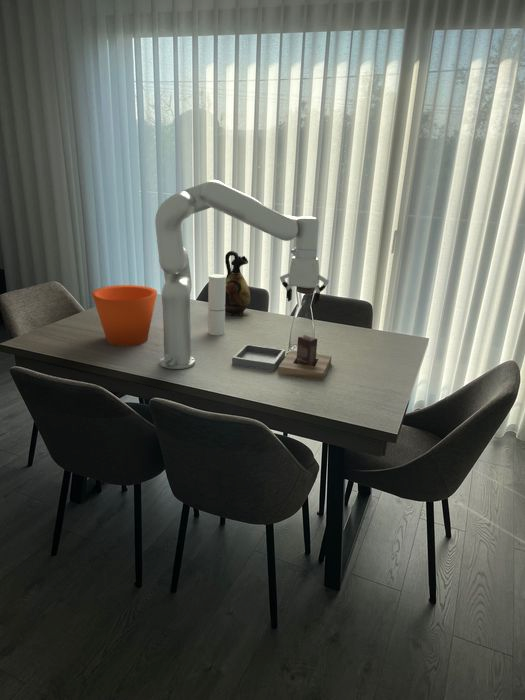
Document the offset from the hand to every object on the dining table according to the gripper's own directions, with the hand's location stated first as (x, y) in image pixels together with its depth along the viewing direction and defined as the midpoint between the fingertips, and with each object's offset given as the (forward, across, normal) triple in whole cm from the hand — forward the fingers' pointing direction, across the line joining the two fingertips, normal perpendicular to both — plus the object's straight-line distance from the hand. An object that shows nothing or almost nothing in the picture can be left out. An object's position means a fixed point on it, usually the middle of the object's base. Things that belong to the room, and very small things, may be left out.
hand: (302, 301), depth 183 cm
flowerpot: (+24, -72, +2) cm, 76 cm away
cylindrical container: (+24, -42, +24) cm, 54 cm away
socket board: (+24, +3, -3) cm, 25 cm away
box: (+25, +3, -3) cm, 25 cm away
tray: (+24, -15, -1) cm, 28 cm away
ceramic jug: (+24, -45, +57) cm, 77 cm away
